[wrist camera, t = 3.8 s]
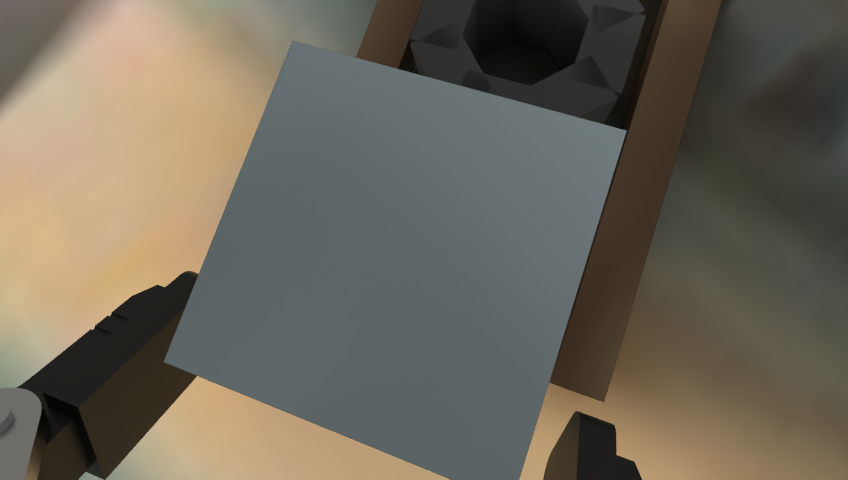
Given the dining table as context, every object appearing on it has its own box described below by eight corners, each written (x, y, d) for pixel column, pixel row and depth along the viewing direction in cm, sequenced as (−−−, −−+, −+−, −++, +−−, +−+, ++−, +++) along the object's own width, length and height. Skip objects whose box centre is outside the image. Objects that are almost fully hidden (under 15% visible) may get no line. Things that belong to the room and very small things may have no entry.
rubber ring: (407, 142, 18) (387, 97, 14) (462, -9, 18) (456, -88, 15) (577, 192, 17) (601, 157, 13) (628, 30, 17) (664, -45, 14)
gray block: (352, 340, 17) (164, 361, 7) (402, 200, 17) (292, 40, 8) (496, 394, 16) (511, 504, 6) (544, 245, 17) (626, 129, 7)
